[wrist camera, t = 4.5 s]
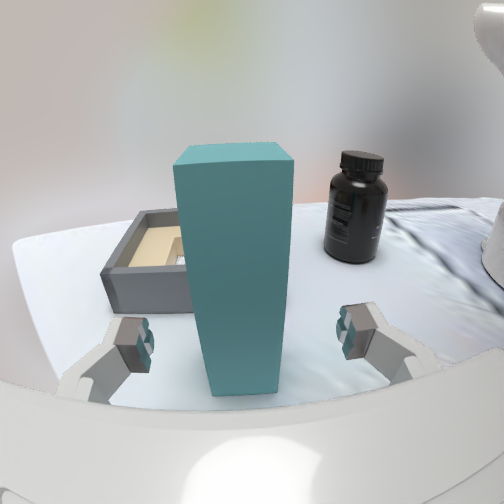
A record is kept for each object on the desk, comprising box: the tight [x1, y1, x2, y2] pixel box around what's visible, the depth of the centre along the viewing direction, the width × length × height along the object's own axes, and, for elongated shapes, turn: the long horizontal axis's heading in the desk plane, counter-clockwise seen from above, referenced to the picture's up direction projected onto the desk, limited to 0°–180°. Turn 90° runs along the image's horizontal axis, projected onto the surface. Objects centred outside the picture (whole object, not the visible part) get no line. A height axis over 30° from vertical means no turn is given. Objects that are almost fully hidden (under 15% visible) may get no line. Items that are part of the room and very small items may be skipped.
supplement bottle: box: [324, 151, 388, 263], centre depth 31 cm, size 7×7×12 cm
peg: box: [173, 142, 294, 396], centre depth 15 cm, size 4×4×15 cm
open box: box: [100, 208, 194, 313], centre depth 30 cm, size 16×14×4 cm
